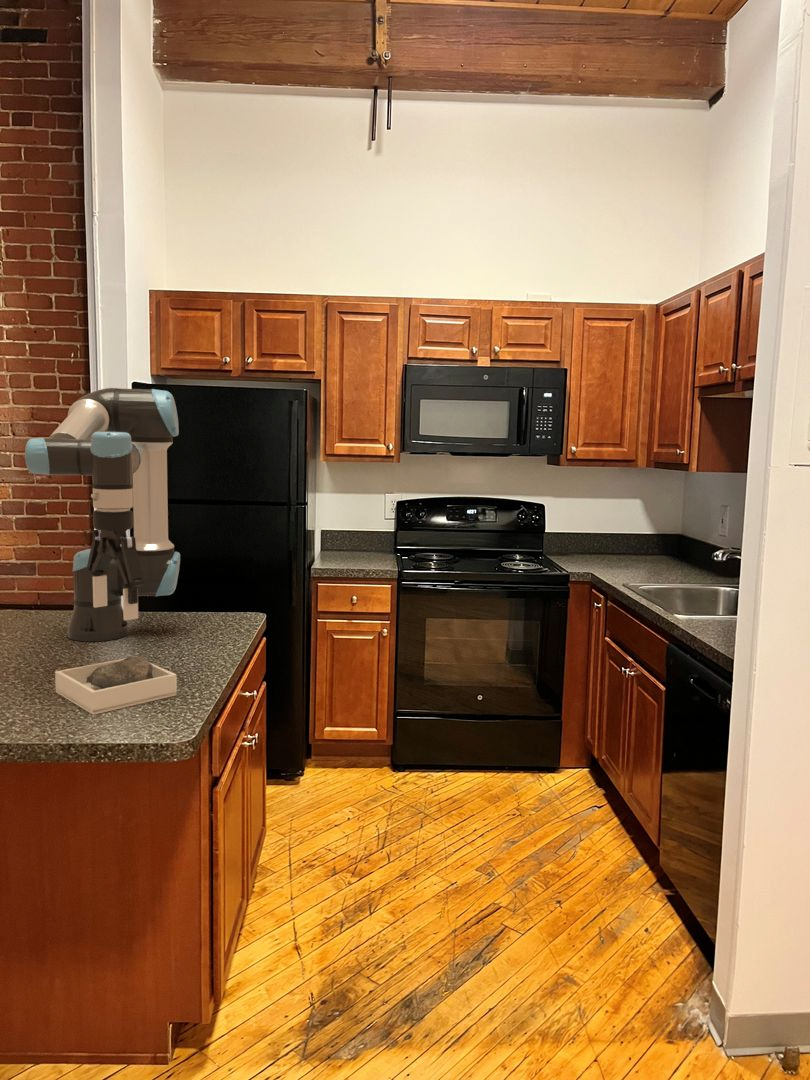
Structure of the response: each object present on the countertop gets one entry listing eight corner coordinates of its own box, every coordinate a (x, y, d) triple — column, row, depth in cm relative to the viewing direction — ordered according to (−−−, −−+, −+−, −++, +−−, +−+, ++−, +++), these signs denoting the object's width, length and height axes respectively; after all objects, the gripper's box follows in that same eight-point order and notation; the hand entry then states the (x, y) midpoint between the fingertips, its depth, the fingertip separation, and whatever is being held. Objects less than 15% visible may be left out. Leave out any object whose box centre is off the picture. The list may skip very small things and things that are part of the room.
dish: (55, 692, 160) (55, 671, 160) (136, 675, 173) (135, 656, 172) (93, 714, 148) (92, 692, 148) (176, 695, 161) (176, 674, 160)
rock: (84, 696, 155) (84, 664, 154) (88, 684, 163) (88, 653, 163) (155, 692, 159) (155, 661, 159) (155, 680, 167) (155, 651, 167)
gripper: (68, 504, 161) (71, 603, 165) (124, 517, 144) (126, 628, 147) (103, 502, 167) (105, 599, 170) (161, 514, 150) (162, 621, 153)
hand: (115, 612), depth 159 cm, fingers open, 13 cm apart
